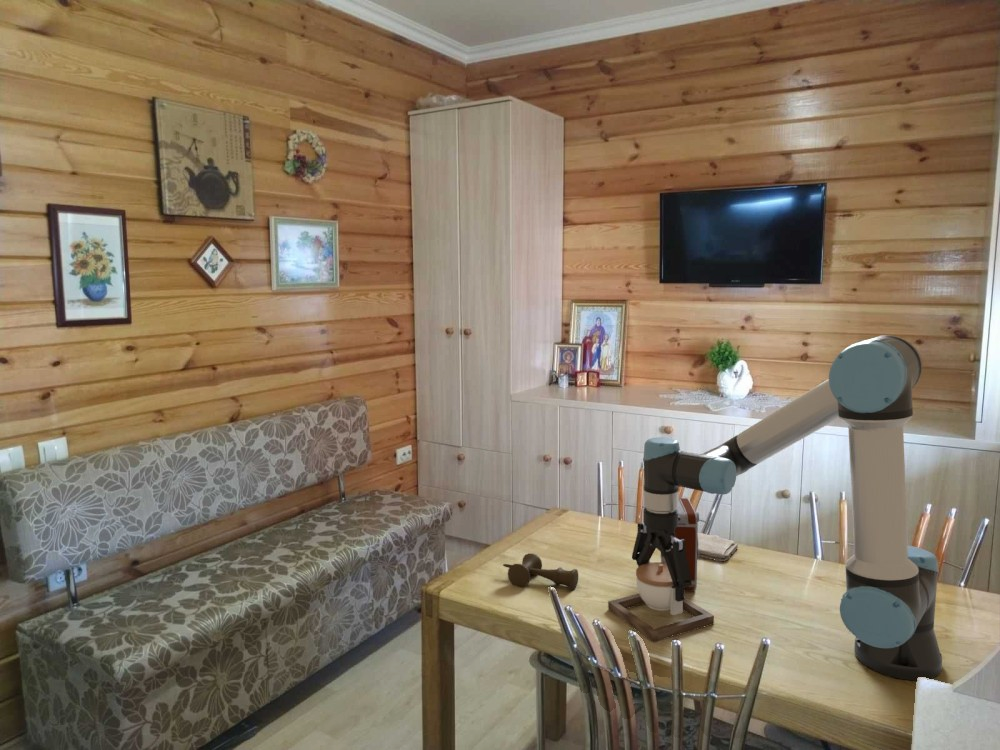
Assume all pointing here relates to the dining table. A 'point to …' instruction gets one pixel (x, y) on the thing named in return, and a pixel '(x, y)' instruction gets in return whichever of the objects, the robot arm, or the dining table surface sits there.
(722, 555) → the washcloth
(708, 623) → the brown wooden tray
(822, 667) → the dining table surface
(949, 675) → the dining table surface
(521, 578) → the kendama
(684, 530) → the cine camera
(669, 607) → the lidded jar
